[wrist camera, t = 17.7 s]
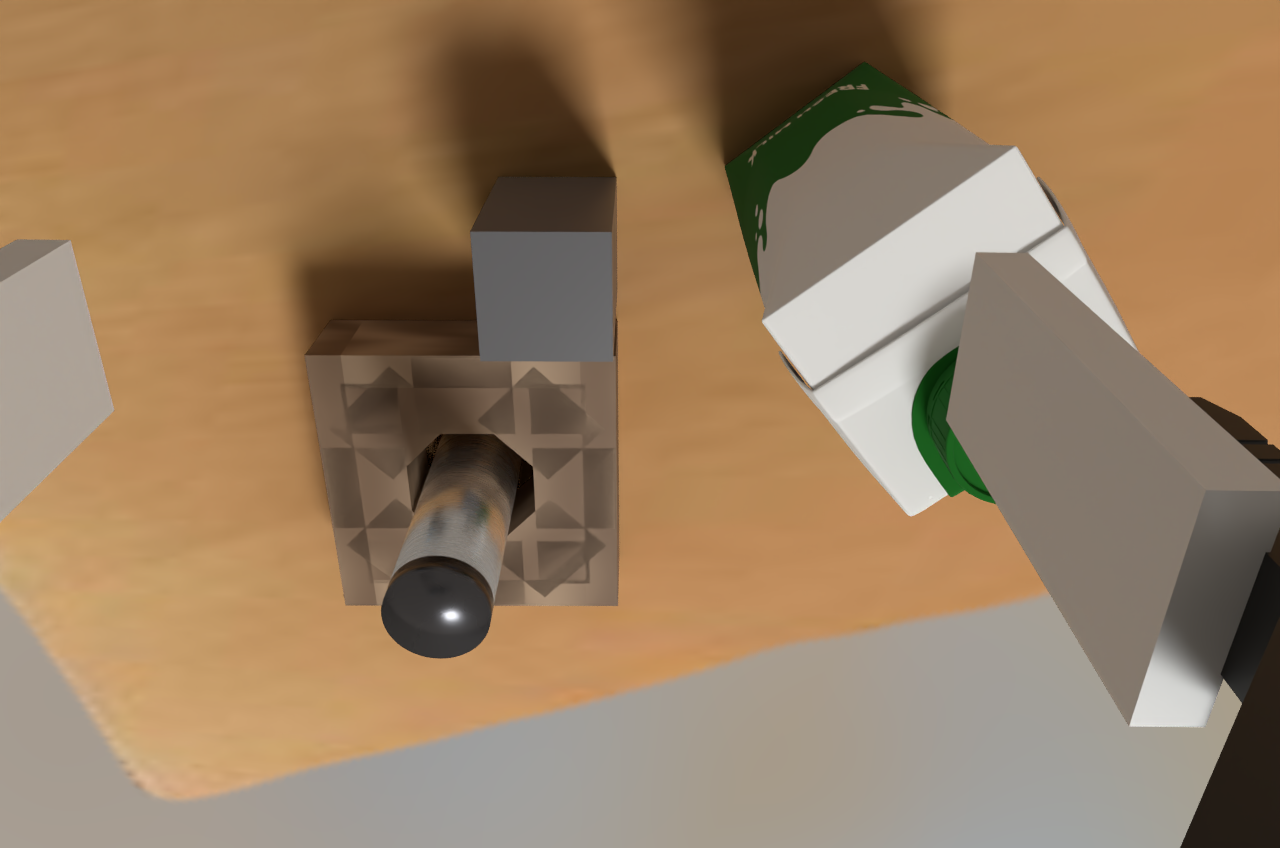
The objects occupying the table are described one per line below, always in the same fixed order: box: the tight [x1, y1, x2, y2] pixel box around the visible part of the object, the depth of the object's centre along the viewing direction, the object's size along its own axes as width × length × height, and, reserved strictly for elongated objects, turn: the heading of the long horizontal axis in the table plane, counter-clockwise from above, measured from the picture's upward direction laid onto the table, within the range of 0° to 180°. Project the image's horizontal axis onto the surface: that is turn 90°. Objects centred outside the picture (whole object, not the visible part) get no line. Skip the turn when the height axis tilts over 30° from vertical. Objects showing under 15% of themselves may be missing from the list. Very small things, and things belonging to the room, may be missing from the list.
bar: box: [470, 177, 617, 362], centre depth 40 cm, size 5×5×8 cm
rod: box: [381, 434, 523, 658], centre depth 43 cm, size 4×4×13 cm
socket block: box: [305, 320, 619, 606], centre depth 47 cm, size 13×13×4 cm
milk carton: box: [725, 62, 1139, 516], centre depth 34 cm, size 9×9×20 cm
